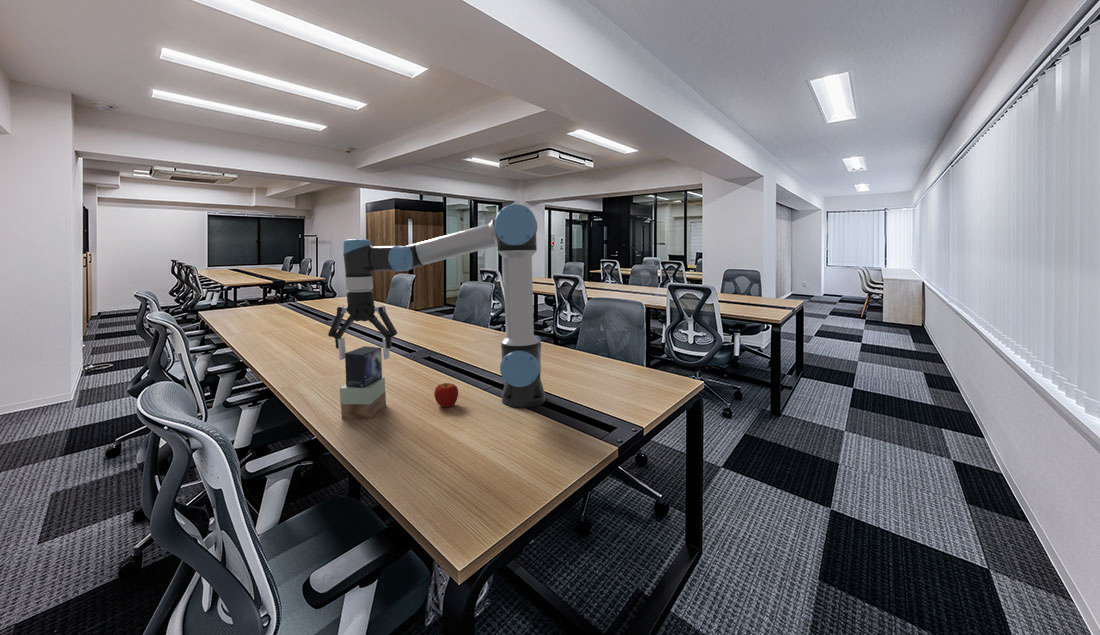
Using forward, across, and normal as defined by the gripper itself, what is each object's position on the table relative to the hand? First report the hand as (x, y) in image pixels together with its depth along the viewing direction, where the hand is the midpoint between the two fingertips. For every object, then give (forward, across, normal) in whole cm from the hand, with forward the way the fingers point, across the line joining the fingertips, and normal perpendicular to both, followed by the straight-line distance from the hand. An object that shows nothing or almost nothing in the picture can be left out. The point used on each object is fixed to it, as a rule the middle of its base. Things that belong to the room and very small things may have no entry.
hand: (364, 358), depth 133 cm
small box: (+8, 0, 0) cm, 8 cm away
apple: (+18, -23, -6) cm, 30 cm away
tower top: (+13, +1, 0) cm, 13 cm away
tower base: (+18, +1, 0) cm, 18 cm away
